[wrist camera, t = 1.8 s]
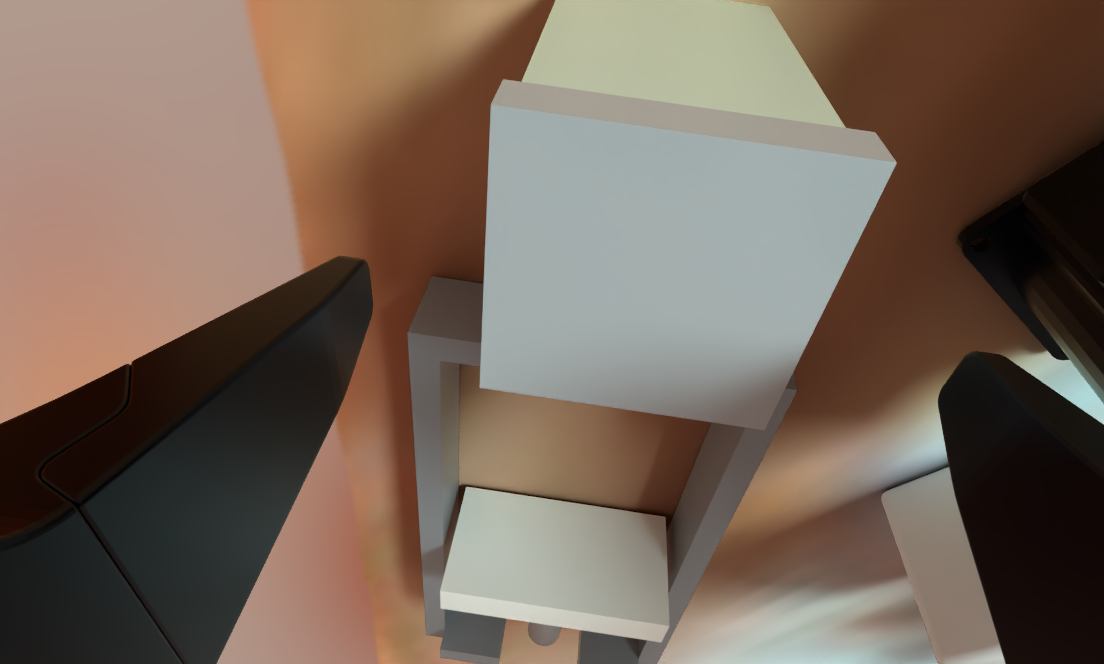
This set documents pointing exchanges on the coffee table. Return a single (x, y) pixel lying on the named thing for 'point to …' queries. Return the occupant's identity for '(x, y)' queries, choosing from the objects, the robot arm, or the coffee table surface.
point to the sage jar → (666, 210)
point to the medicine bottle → (942, 570)
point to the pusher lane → (434, 360)
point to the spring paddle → (558, 566)
